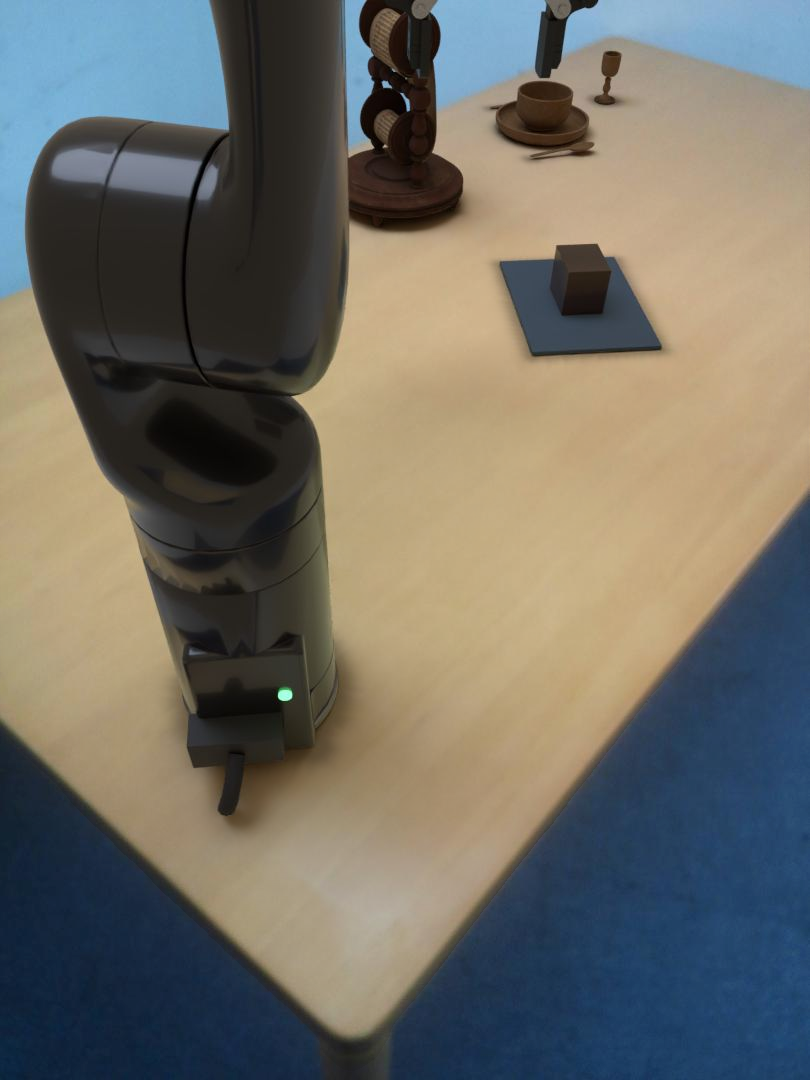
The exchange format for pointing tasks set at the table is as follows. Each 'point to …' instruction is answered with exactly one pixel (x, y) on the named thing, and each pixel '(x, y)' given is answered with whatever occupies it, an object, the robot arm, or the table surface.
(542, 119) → the place setting
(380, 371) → the table surface
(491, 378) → the table surface
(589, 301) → the walnut block
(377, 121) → the brown wooden upright stand
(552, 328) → the grey mat
